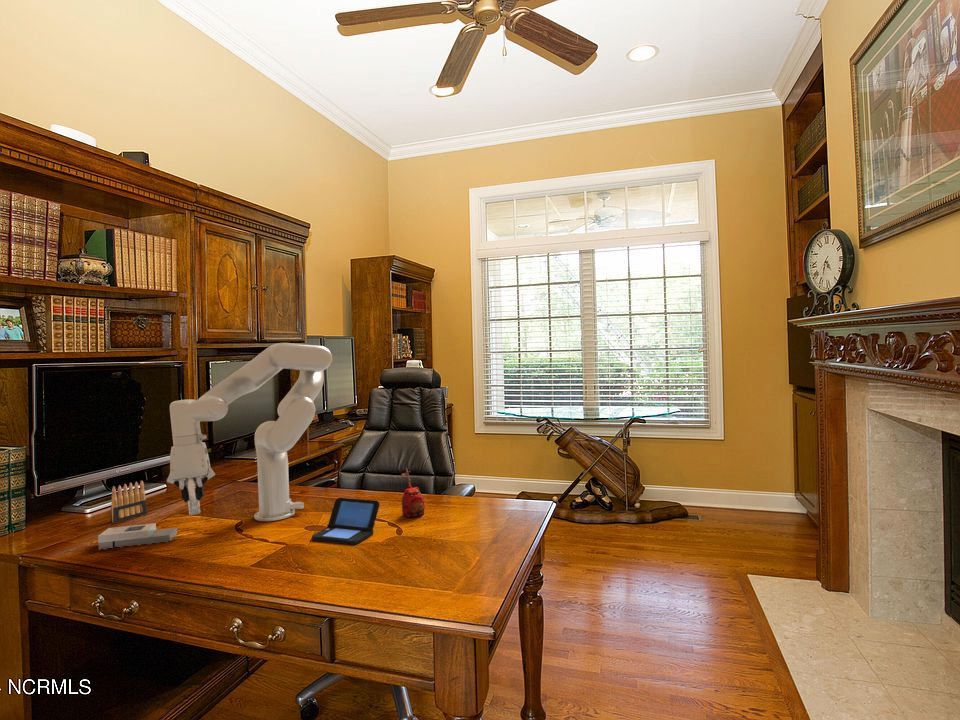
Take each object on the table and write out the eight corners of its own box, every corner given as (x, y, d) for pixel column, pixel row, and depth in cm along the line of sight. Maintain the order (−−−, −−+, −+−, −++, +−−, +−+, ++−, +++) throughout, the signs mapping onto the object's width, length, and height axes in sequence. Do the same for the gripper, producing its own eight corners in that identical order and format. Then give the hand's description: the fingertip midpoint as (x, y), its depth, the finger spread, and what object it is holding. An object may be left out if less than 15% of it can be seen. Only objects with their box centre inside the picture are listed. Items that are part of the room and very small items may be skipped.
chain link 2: (177, 534, 159) (176, 527, 159) (169, 541, 153) (169, 535, 153) (124, 539, 156) (124, 533, 156) (114, 548, 149) (114, 541, 149)
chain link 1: (156, 536, 158) (155, 523, 158) (148, 544, 151) (147, 530, 151) (109, 541, 155) (108, 528, 155) (98, 549, 148) (98, 535, 148)
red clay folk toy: (409, 520, 166) (407, 472, 165) (397, 515, 171) (395, 469, 171) (428, 514, 171) (427, 468, 170) (416, 510, 176) (415, 465, 176)
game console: (309, 541, 150) (308, 510, 150) (337, 526, 163) (336, 497, 163) (356, 546, 145) (355, 513, 144) (381, 530, 157) (380, 500, 157)
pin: (203, 510, 162) (199, 468, 162) (200, 514, 158) (196, 471, 158) (189, 512, 161) (185, 470, 161) (185, 516, 157) (181, 473, 157)
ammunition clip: (113, 523, 172) (112, 487, 172) (110, 522, 173) (109, 486, 173) (147, 514, 182) (146, 479, 182) (144, 513, 183) (143, 479, 182)
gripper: (219, 435, 165) (225, 492, 165) (161, 441, 160) (167, 500, 161) (214, 439, 157) (220, 499, 158) (152, 446, 153) (159, 508, 154)
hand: (193, 499), depth 160 cm, fingers closed on pin, 3 cm apart
